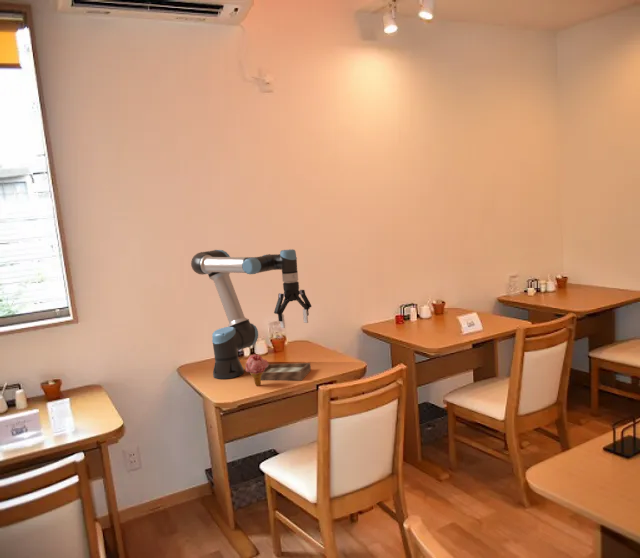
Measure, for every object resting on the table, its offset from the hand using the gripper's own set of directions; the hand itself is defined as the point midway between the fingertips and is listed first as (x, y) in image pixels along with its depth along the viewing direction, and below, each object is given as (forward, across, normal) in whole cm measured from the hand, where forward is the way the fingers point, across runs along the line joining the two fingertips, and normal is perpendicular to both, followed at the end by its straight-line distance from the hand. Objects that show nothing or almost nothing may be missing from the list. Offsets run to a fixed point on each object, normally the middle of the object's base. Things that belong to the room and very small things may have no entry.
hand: (294, 325), depth 272 cm
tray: (+25, -5, +4) cm, 26 cm away
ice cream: (+25, -22, 0) cm, 34 cm away
